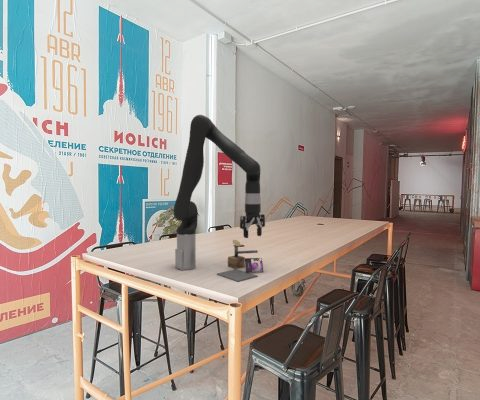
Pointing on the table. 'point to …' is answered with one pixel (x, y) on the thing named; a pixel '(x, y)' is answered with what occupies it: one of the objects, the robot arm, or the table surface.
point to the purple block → (253, 265)
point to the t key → (241, 251)
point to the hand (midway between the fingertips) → (252, 236)
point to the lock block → (236, 262)
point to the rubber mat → (237, 275)
